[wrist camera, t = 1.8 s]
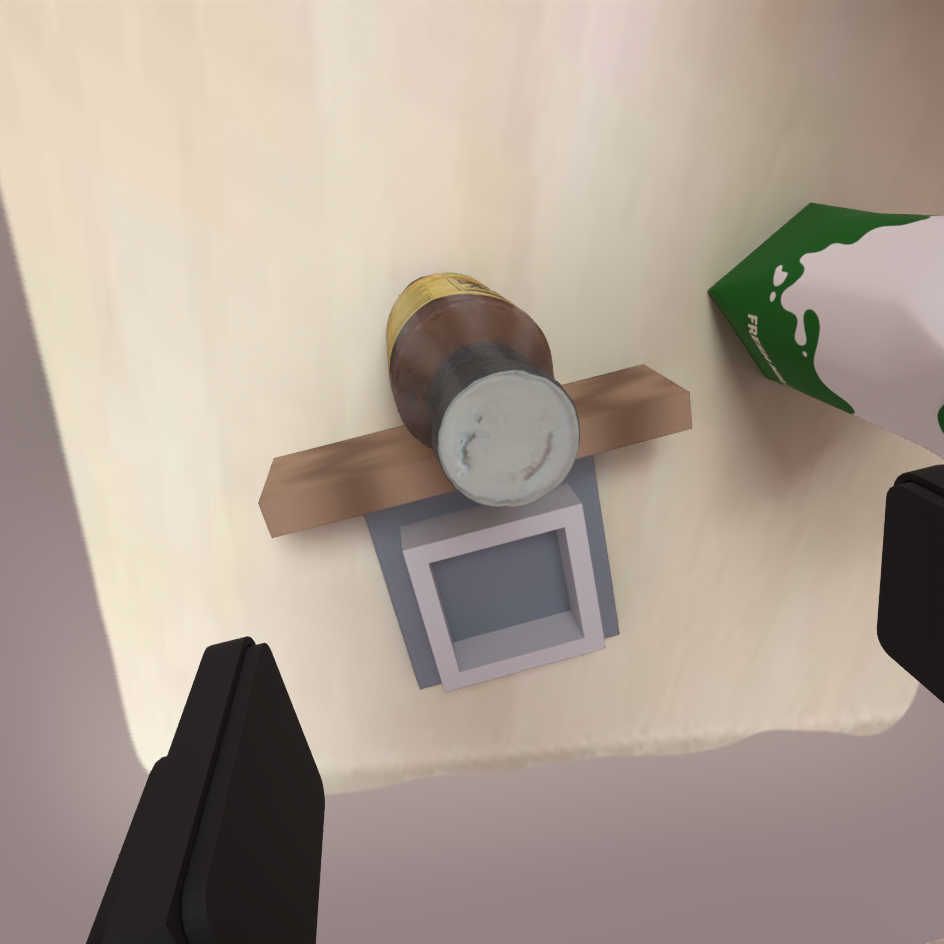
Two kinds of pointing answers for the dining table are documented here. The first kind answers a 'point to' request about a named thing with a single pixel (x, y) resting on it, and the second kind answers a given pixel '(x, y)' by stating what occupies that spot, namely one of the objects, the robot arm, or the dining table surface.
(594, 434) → the walnut wall
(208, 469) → the dining table surface
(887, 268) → the milk carton
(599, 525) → the holder
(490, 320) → the sauce bottle
